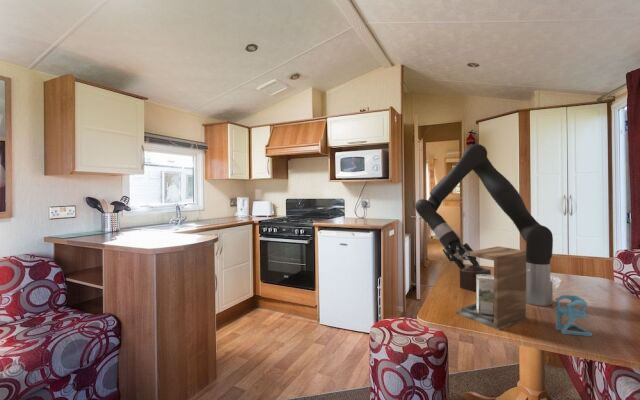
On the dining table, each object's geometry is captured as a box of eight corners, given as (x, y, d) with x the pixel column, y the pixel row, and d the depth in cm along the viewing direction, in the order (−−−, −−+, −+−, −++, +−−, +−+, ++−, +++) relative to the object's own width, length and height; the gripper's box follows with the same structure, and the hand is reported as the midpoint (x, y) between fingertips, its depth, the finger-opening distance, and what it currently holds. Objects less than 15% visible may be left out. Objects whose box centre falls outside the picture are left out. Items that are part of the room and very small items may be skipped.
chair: (550, 326, 109) (550, 292, 108) (574, 325, 108) (574, 292, 108) (567, 337, 101) (567, 301, 100) (593, 336, 101) (593, 300, 100)
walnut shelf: (455, 312, 122) (455, 249, 120) (483, 303, 130) (483, 244, 129) (498, 329, 107) (498, 257, 106) (526, 318, 115) (526, 250, 114)
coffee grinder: (492, 288, 148) (492, 251, 148) (480, 293, 142) (480, 255, 141) (462, 281, 161) (461, 247, 161) (449, 285, 155) (449, 250, 154)
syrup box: (492, 310, 122) (492, 274, 121) (495, 316, 116) (495, 278, 116) (476, 308, 124) (476, 273, 123) (478, 314, 118) (478, 277, 118)
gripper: (440, 231, 129) (464, 264, 119) (462, 228, 135) (487, 259, 126) (430, 242, 133) (453, 274, 124) (452, 239, 140) (475, 269, 131)
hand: (470, 267), depth 125 cm, fingers open, 8 cm apart
